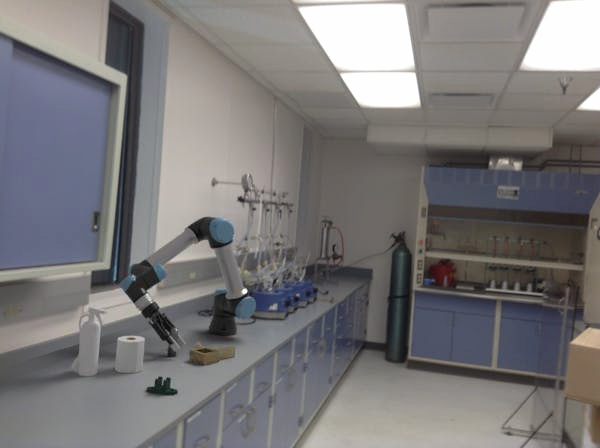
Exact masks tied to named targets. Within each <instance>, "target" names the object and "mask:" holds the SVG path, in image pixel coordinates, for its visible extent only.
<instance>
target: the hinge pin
mask: <svg viewBox="0 0 600 448" xmlns="http://www.w3.org/2000/svg"><path fill="white" fill-rule="evenodd" d="M168 334H169V337H170V336H171V337H172V338H173V339H174V341H175V342H176V343H177V338H178V335H179V327H176V328H170V332H168ZM167 344H168V343H167ZM167 346H168V347H167V357H168V358H175V357H177V351H176V352H174V350H173V349H172V348H171V347H170V345H169V344H168V345H167Z"/></svg>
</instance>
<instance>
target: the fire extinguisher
mask: <svg viewBox="0 0 600 448" xmlns="http://www.w3.org/2000/svg"><path fill="white" fill-rule="evenodd" d="M107 314H109V310H106V309H103V308H100V307H96V306H89V307H88V310H87V313H84V314H82V315H80V317H79V320H78V327H79V328H78V329H79V343H78V344H79V348H78V351H79V352H78V355H77V357H75V359H74V361H73V362H72V363H71V366H70V368H71V369H72V370H74V371H78V375H79V376H81V377H92V376H96V375H97V374H98V368H99V367H98V365H99V357H100V356H99V354H100V353H99V352H100V343H101V342H100V341H101V328H102V327H103V326H105V325H106V322H105V318H104V317H103V315H107ZM85 317H88V319H87V321H84V322H83V321H82V320H83V318H85ZM96 318H97V320H98V321H97V320H96ZM82 322H83V324H82Z"/></svg>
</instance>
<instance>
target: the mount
mask: <svg viewBox="0 0 600 448" xmlns="http://www.w3.org/2000/svg"><path fill="white" fill-rule="evenodd" d="M171 382H172V378H171V377H168V376H167V377H166V378H165V379H163V376H160V375H159V376H158V377H157V378H155V379H154V386H147V387H146V392H147V393H150V394H155V395H161V396H162V395H163V396H176V395H178V393H179V392H178V391H179V390H178V389H176V388H173V387H171ZM175 394H176V395H175Z"/></svg>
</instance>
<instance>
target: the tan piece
mask: <svg viewBox="0 0 600 448" xmlns="http://www.w3.org/2000/svg"><path fill="white" fill-rule="evenodd" d="M235 357H236V346H228V347H227V346H226V347H219V348H211V347H207V346H203V345H202V343H201V342H200V341H196V342H195V348H194V349H193V348H192V349H190V350H189V361H190V362H192V363H196V364H197V365H202V366H207V365H211V364H215V363H216V364H217V363H219V362H220V360H224V359H232V358H235Z"/></svg>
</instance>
